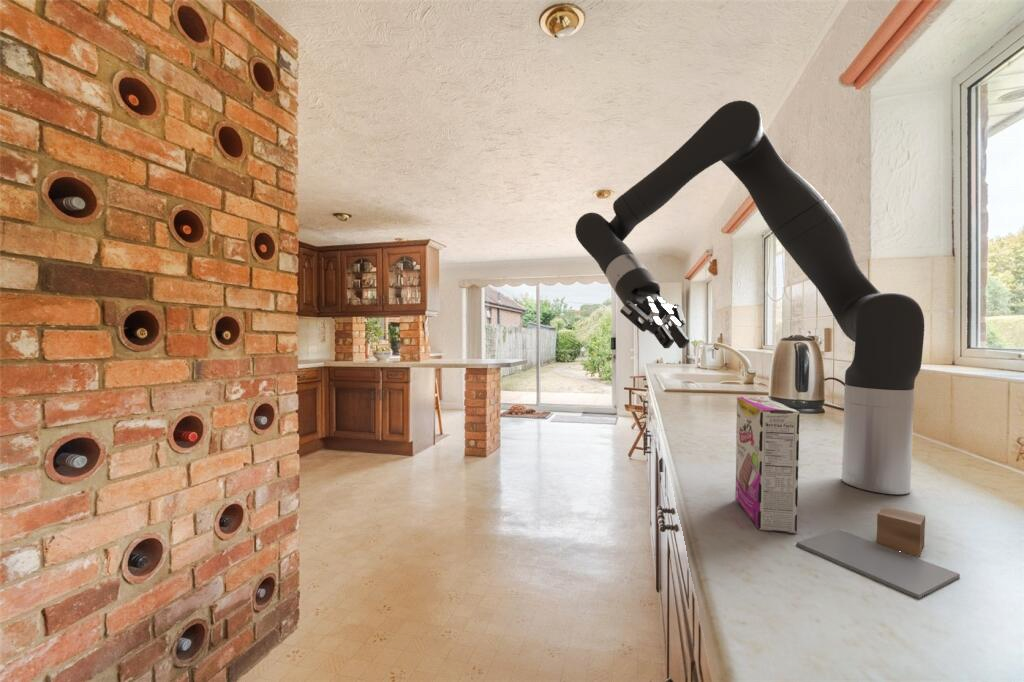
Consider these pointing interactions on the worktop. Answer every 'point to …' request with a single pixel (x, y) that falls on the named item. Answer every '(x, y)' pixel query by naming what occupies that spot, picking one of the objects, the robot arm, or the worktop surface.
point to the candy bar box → (767, 463)
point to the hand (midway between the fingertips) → (677, 344)
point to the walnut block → (901, 530)
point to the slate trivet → (879, 562)
